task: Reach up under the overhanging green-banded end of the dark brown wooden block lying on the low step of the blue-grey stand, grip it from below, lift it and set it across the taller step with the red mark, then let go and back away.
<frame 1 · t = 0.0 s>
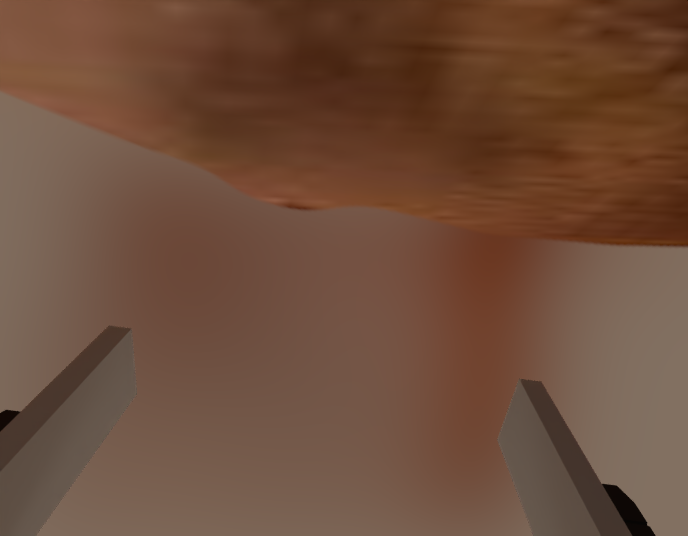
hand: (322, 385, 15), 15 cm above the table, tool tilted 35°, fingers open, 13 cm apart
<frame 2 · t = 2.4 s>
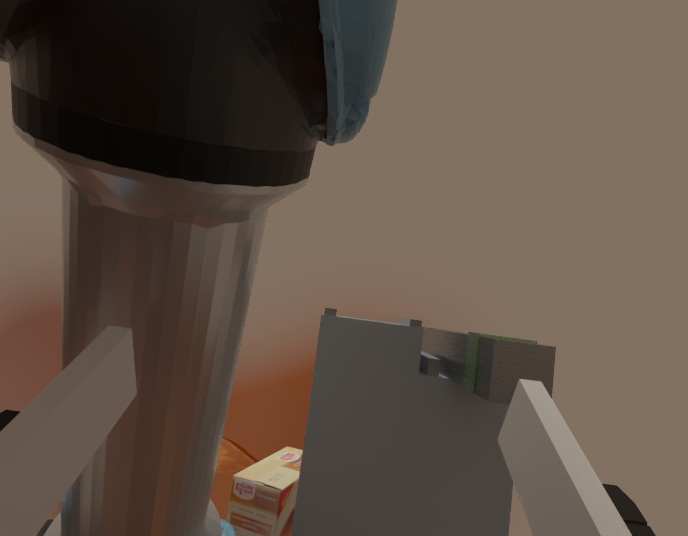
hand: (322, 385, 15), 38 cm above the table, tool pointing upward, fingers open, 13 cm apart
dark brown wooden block: (463, 377, 40), point 36 cm above the table, touching stand
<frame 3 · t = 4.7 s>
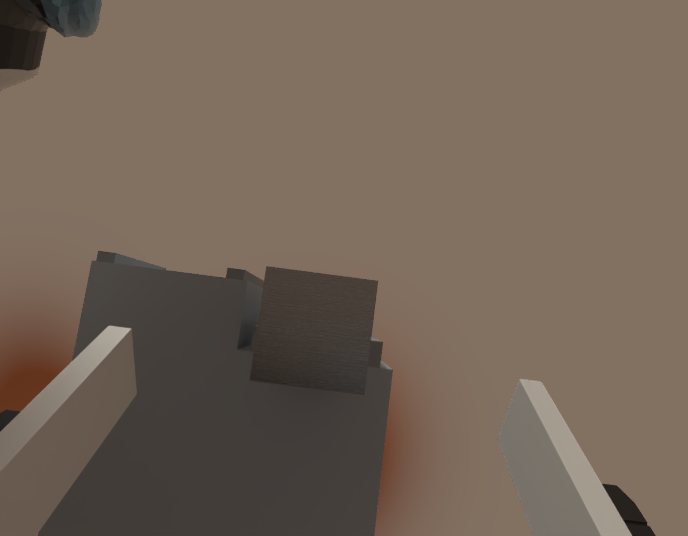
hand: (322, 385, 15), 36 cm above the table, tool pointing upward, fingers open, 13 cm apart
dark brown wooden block: (316, 356, 27), point 36 cm above the table, touching stand
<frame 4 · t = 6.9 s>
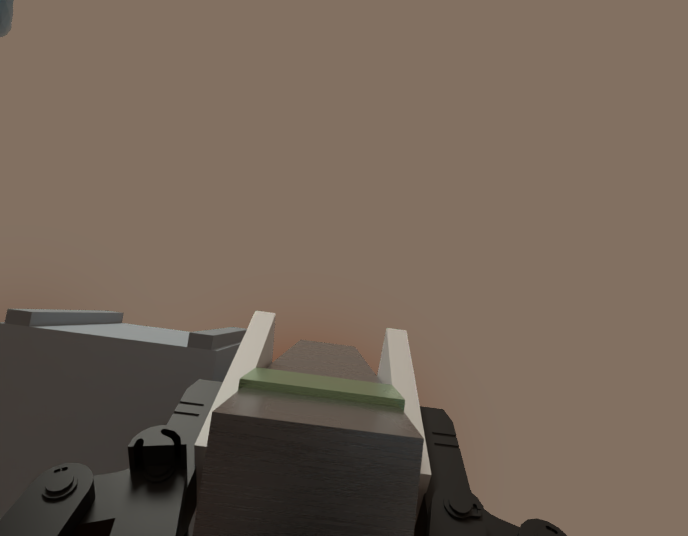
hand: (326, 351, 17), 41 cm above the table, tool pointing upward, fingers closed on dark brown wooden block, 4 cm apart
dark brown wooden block: (313, 449, 20), point 36 cm above the table, touching gripper, stand
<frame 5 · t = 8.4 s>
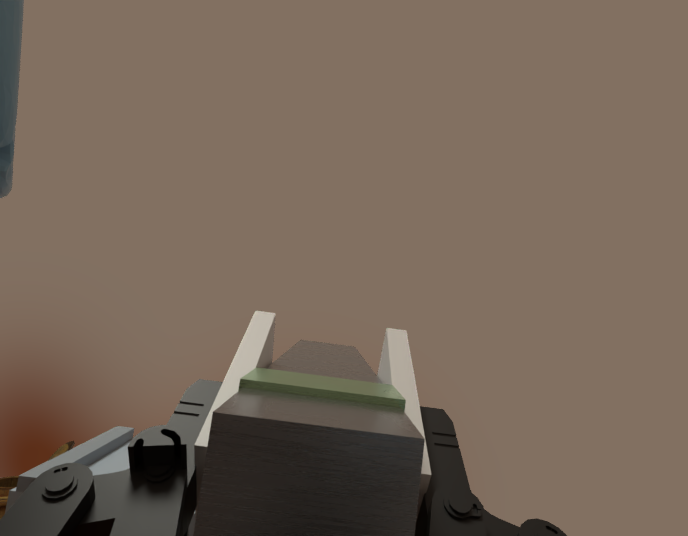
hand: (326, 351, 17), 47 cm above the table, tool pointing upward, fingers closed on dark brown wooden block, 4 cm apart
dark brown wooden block: (314, 449, 20), point 42 cm above the table, touching gripper
when the fingers open (46 cm above the table, at t = 10.0 s): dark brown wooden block stays where it is, resting on stand.
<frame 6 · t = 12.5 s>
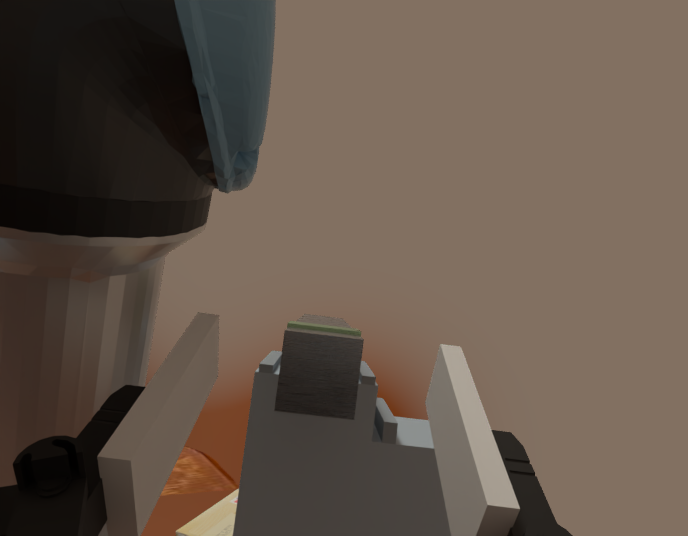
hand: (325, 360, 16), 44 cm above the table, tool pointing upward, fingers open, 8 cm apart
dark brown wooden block: (317, 374, 34), point 40 cm above the table, touching stand
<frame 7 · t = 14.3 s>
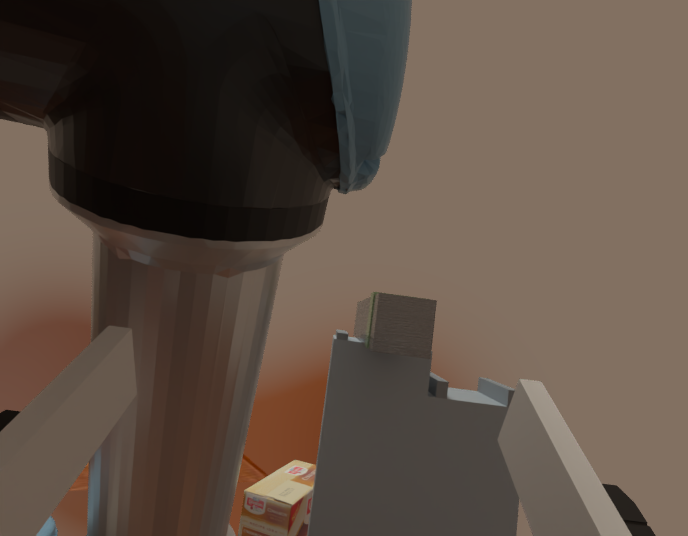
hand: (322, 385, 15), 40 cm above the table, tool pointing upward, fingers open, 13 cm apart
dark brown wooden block: (380, 343, 41), point 40 cm above the table, touching stand
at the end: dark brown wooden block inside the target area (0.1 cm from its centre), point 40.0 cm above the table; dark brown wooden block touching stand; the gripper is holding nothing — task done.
